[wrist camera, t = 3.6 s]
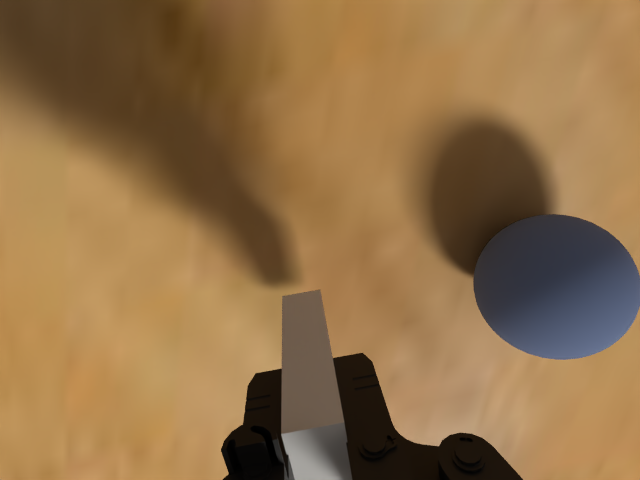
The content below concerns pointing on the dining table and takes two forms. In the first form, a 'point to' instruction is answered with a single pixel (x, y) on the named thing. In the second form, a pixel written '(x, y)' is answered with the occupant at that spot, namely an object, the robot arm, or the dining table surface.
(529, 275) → the ball
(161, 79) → the dining table surface
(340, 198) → the dining table surface
